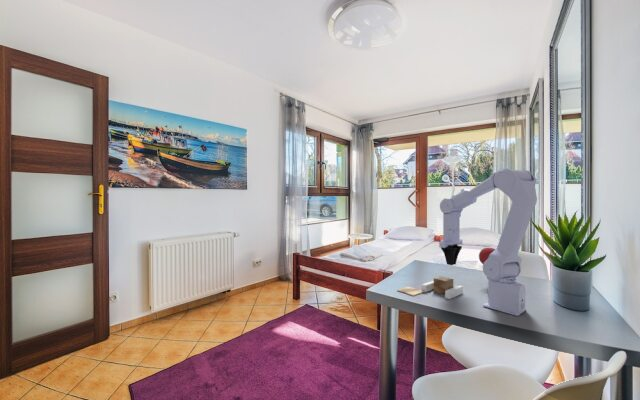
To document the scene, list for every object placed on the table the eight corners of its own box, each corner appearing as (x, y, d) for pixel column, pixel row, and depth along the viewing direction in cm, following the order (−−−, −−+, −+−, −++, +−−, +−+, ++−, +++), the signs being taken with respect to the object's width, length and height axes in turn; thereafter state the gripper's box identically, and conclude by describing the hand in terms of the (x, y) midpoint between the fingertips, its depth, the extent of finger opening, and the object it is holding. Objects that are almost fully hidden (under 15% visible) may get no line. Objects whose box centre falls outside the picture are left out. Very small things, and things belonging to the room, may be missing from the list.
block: (453, 292, 100) (453, 279, 100) (446, 295, 97) (446, 281, 97) (440, 288, 104) (440, 276, 104) (433, 291, 101) (433, 278, 101)
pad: (424, 292, 100) (424, 291, 100) (413, 296, 95) (413, 295, 95) (408, 287, 105) (408, 286, 105) (397, 290, 101) (397, 289, 101)
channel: (462, 293, 99) (462, 286, 99) (449, 299, 93) (449, 292, 93) (435, 286, 107) (435, 279, 107) (421, 291, 101) (421, 284, 101)
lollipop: (500, 288, 104) (500, 250, 104) (477, 284, 109) (477, 248, 109) (501, 283, 110) (501, 247, 110) (480, 280, 115) (480, 245, 115)
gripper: (450, 227, 112) (450, 260, 112) (431, 229, 103) (431, 265, 103) (467, 229, 106) (467, 263, 106) (449, 231, 97) (449, 268, 97)
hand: (451, 264), depth 104 cm, fingers closed
